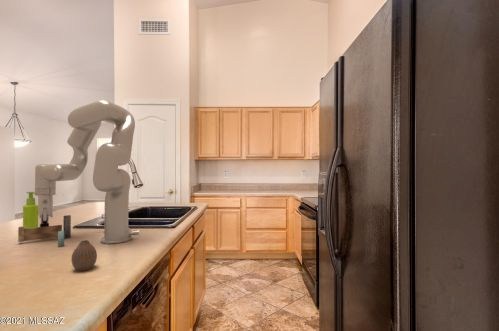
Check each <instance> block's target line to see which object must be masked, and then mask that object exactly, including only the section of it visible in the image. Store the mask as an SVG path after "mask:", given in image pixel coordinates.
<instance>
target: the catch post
mask: <svg viewBox="0 0 499 331" xmlns="http://www.w3.org/2000/svg"><path fill="white" fill-rule="evenodd" d="M57 239H58V240H57V247H58V248H62V247H65V238H64V231H63V230H62V231H59V232H58V237H57Z"/></svg>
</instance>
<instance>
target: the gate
mask: <svg viewBox="0 0 499 331" xmlns="http://www.w3.org/2000/svg"><path fill="white" fill-rule="evenodd" d="M17 228H18V230H17V232H18V233H17V234H18V235H17V236H18V238H17V242H18V243H23V242H29V241H37V240H45V239H51V238H58V232H59V231H63V225H62V224H57V225H49V226H46V227H40V226H38V227H36V228H27V229H24V226H23V225H22V226H18V227H17Z"/></svg>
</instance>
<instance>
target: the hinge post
mask: <svg viewBox="0 0 499 331" xmlns="http://www.w3.org/2000/svg"><path fill="white" fill-rule="evenodd" d="M71 222H72V216H71V214H69V215H68V214H67V215H66V214H65V215H63V223H62V224H63V225H62V231H64V239H70V238H72V237H71V236H72V229H71V228H72V226H71V224H72V223H71Z"/></svg>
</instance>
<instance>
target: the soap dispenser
mask: <svg viewBox="0 0 499 331" xmlns="http://www.w3.org/2000/svg"><path fill="white" fill-rule="evenodd" d="M26 194H28V197H27V198H26V200H25V201H26V204H25V205H23V206H22V226H24V229H27V228H36V227H39V214H38V204H36V198H35V197H34V195H35V191H27V192H26Z"/></svg>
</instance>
